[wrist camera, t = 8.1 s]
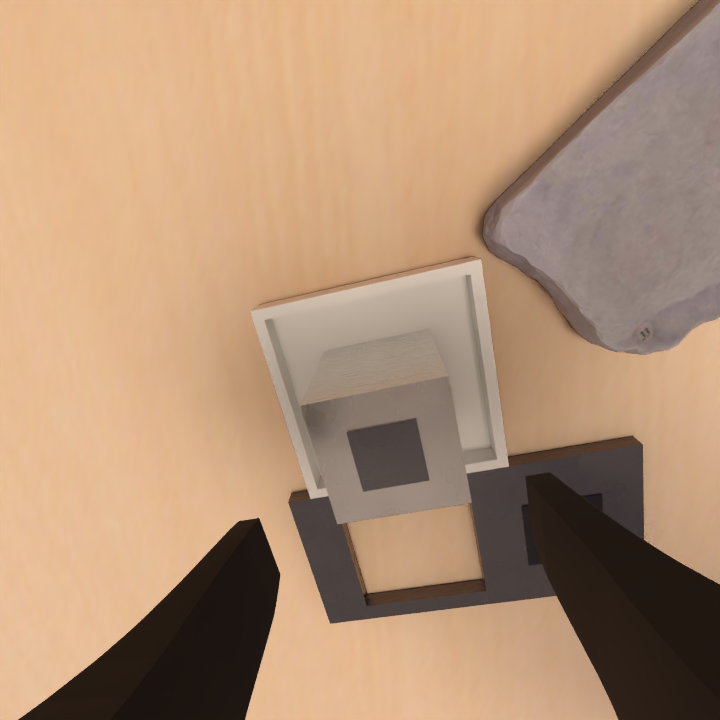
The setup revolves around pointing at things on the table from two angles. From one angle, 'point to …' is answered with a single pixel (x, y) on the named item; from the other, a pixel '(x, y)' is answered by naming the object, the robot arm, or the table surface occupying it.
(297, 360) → the tray
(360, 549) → the table surface
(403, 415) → the cube with square inset
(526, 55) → the table surface
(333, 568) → the plate with square cutout
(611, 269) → the stone block
